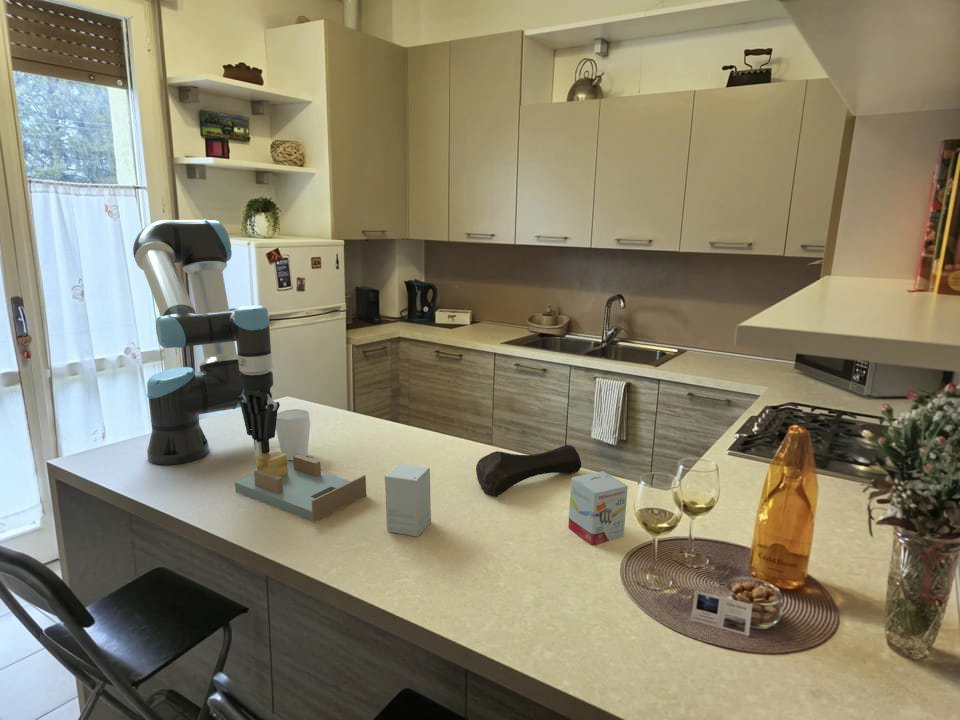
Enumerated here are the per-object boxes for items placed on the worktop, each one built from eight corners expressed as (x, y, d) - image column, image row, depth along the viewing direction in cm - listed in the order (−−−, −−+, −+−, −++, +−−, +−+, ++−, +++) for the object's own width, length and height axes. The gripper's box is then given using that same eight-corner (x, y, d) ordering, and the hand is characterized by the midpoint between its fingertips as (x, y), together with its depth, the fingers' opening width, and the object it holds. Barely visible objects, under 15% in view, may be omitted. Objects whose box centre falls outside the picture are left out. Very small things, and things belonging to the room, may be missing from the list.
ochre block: (257, 475, 153) (256, 456, 151) (274, 469, 157) (273, 450, 156) (271, 480, 150) (269, 461, 149) (287, 473, 154) (286, 454, 153)
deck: (235, 491, 149) (233, 468, 148) (289, 469, 162) (287, 448, 161) (314, 522, 135) (312, 497, 134) (366, 495, 148) (365, 472, 147)
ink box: (592, 546, 126) (595, 492, 123) (567, 528, 133) (569, 476, 131) (625, 537, 130) (629, 484, 127) (599, 519, 137) (602, 469, 134)
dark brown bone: (483, 506, 148) (573, 493, 163) (499, 477, 142) (591, 465, 157) (464, 471, 155) (553, 461, 170) (479, 442, 149) (569, 434, 164)
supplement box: (432, 521, 136) (431, 467, 133) (417, 537, 129) (416, 480, 126) (401, 516, 138) (399, 462, 135) (385, 531, 131) (383, 475, 128)
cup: (302, 463, 166) (299, 420, 163) (271, 461, 168) (268, 418, 165) (317, 451, 175) (315, 410, 172) (287, 449, 176) (285, 408, 174)
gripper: (225, 370, 150) (233, 463, 155) (260, 378, 143) (267, 475, 148) (251, 364, 156) (259, 454, 161) (286, 371, 149) (293, 465, 154)
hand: (263, 464), depth 154 cm, fingers closed
